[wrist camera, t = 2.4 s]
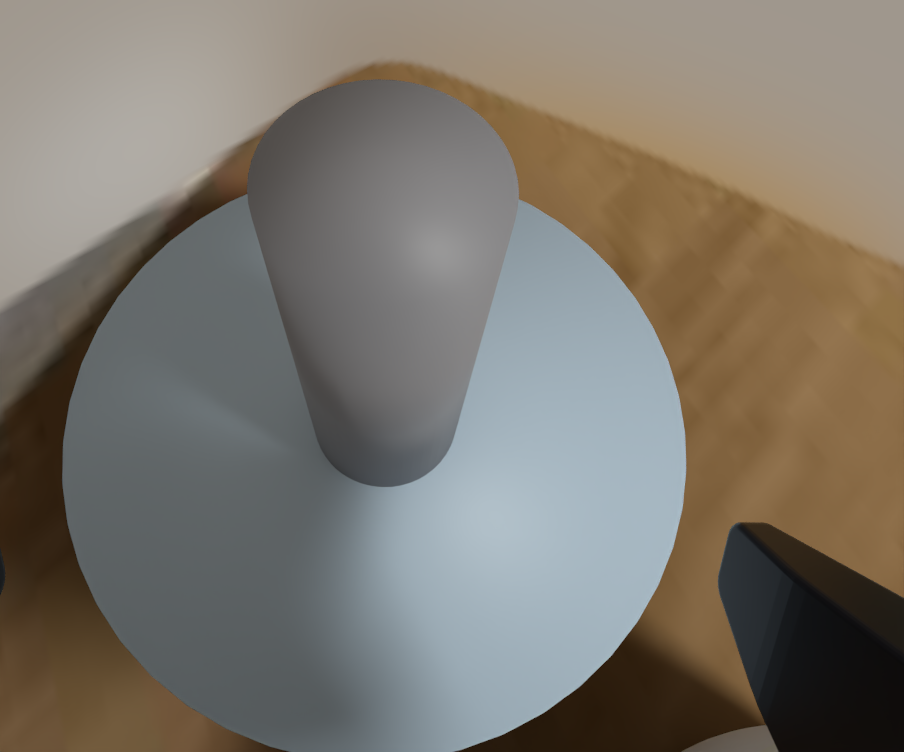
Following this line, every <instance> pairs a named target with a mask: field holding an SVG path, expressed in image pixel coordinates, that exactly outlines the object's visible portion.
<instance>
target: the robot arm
mask: <svg viewBox="0 0 904 752" xmlns="http://www.w3.org/2000/svg"><path fill="white" fill-rule="evenodd" d="M4 582H5V567H4V563H3V559H2V554H1V550H0V595H1V592H2V590H3V586H4ZM718 588H719V594H720V597H721V600H722V603H723V606H724V609H725V612H726V615H727V618H728V621H729V624H730V627H731V630H732V633H733V636H734V639H735V642H736V645H737V648H738V651H739V654H740V657H741V660H742V663H743V666H744V668H745V671H746V674H747V677H748V680H749V683H750V686H751V689H752V692H753V694H754V697H755V700H756V702H757V705H758V707H759V710H760V712H761V714H762V717H763V719H764V721H765V723H766V726H767V728H768V730H769V732H770V734H771V736H772V739H773V741H774V743H775V745H776V747H777V750H778V752H904V598H903V597H901V596H899V595H898V594H896V593H894V592H892V591H890V590H888V589H887V588H885V587H883V586H881V585H879V584H878V583H876V582H874V581H872V580H870V579H868V578H867V577H865V576H863V575H861V574H859V573H857V572H856V571H854V570H852V569H850V568H848V567H846V566H845V565H843V564H841V563H839V562H837V561H836V560H834V559H832V558H830V557H828V556H826V555H825V554H823V553H821V552H819V551H817V550H815V549H814V548H812V547H810V546H808V545H806V544H804V543H803V542H801V541H799V540H797V539H795V538H794V537H792V536H790V535H788V534H786V533H784V532H783V531H781V530H779V529H777V528H775V527H773V526H772V525H770V524H767V523H743V522H741V523H736V524H735V525H733V526H732V528H731V529H730V531H729V534H728V538H727V542H726V546H725V550H724V554H723V558H722V562H721V566H720V570H719V575H718Z"/></svg>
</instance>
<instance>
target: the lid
mask: <svg viewBox="0 0 904 752" xmlns="http://www.w3.org/2000/svg"><path fill="white" fill-rule="evenodd" d="M685 478H686V449H685V430H684V424H683V418H682V412H681V406H680V400H679V395H678V392H677V388H676V385H675V382H674V378H673V375H672V372H671V369H670V365H669V362H668V359H667V357H666V355H665V353H664V350H663V348H662V346H661V344H660V342H659V339H658V337H657V335H656V333H655V330H654V328H653V327H652V325H651V323H650V322H649V320H648V318H647V317H646V315H645V313H644V312H643V310H642V308H641V307H640V305H639V303H638V302H637V300H636V299H635V297H634V296H633V295H632V293H631V292H630V291H629V289H628V288H627V287H626V286H625V284H624V283H623V282H622V281H621V279H620V278H619V277H618V275H617V274H616V273H615V272H614V270H613V269H612V268H611V267H610V266H609V265H608V264H607V263H606V262H605V261H604V260H603V259H602V258H601V257H600V256H599V255H598V254H597V253H596V252H595V251H594V250H593V249H592V248H591V247H590V246H589V245H587V244H586V243H585V242H584V241H582V240H581V239H580V238H579V237H577V236H576V235H575V234H574V233H572V232H571V231H570V230H569V229H567V228H566V227H565V226H564V225H562V224H561V223H559V222H558V221H556V220H554V219H553V218H551V217H550V216H548V215H546V214H545V213H543V212H542V211H540V210H538V209H537V208H535V207H534V206H532V205H530V204H528V203H526V202H524V201H522V200H519V189H518V179H517V175H516V171H515V167H514V164H513V161H512V159H511V156H510V154H509V152H508V150H507V148H506V146H505V145H504V143H503V141H502V140H501V138H500V137H499V136H498V134H497V133H496V132H495V130H494V129H493V128H492V127H491V126H490V125H489V124H488V123H487V122H486V121H485V120H484V119H483V118H482V117H481V116H480V115H479V114H478V113H476V112H475V111H474V110H472V109H471V108H470V107H469V106H467V105H465V104H464V103H462V102H460V101H459V100H457V99H456V98H454V97H451V96H449V95H447V94H445V93H443V92H441V91H438V90H435V89H432V88H429V87H427V86H423V85H419V84H415V83H410V82H404V81H396V80H363V81H355V82H349V83H344V84H340V85H337V86H333V87H330V88H327V89H324V90H322V91H319V92H317V93H314V94H312V95H310V96H309V97H307V98H305V99H303V100H301V101H299V102H298V103H296V104H295V105H294V106H292V107H291V108H290V109H288V110H287V111H286V112H284V113H283V114H282V115H281V116H280V117H279V118H278V119H277V120H276V121H275V122H274V123H273V124H272V126H271V127H270V128H269V129H268V130H267V132H266V133H265V134H264V136H263V138H262V139H261V141H260V143H259V144H258V146H257V148H256V151H255V153H254V156H253V158H252V161H251V165H250V169H249V173H248V183H247V194H246V195H244V196H242V197H239V198H237V199H235V200H233V201H230V202H228V203H227V204H225V205H223V206H222V207H220V208H218V209H216V210H215V211H213V212H211V213H210V214H208V215H206V216H204V217H203V218H201V219H199V220H198V221H196V222H195V223H194V224H192V225H191V226H190V227H188V228H187V229H186V230H184V231H183V232H182V233H180V234H179V235H178V236H176V237H175V238H174V239H172V240H171V241H170V242H168V243H167V244H166V245H165V246H164V247H163V248H162V249H161V250H160V251H159V252H158V253H157V254H156V255H155V256H154V257H153V258H152V259H151V260H150V261H148V262H147V263H146V264H145V265H144V266H143V267H142V268H141V270H140V271H139V272H138V273H137V274H136V276H135V277H134V278H133V279H132V280H131V282H130V283H129V284H128V285H127V287H126V288H125V289H124V290H123V291H122V293H121V294H120V295H119V296H118V298H117V299H116V301H115V302H114V304H113V306H112V307H111V309H110V310H109V312H108V313H107V315H106V317H105V318H104V320H103V321H102V323H101V325H100V326H99V328H98V329H97V332H96V334H95V336H94V338H93V340H92V342H91V344H90V347H89V349H88V351H87V353H86V355H85V357H84V360H83V362H82V364H81V367H80V370H79V373H78V377H77V380H76V383H75V386H74V390H73V393H72V396H71V399H70V403H69V409H68V415H67V421H66V427H65V433H64V439H63V472H62V484H63V492H64V500H65V508H66V516H67V524H68V528H69V531H70V535H71V538H72V542H73V545H74V549H75V553H76V556H77V560H78V563H79V566H80V568H81V571H82V573H83V575H84V577H85V579H86V582H87V584H88V586H89V588H90V591H91V593H92V595H93V597H94V599H95V602H96V604H97V606H98V607H99V609H100V610H101V612H102V613H103V615H104V616H105V618H106V620H107V621H108V623H109V624H110V626H111V627H112V629H113V630H114V632H115V633H116V635H117V637H118V638H119V640H120V641H121V642H122V644H123V645H124V646H125V647H126V648H127V649H128V650H129V651H130V653H131V654H132V655H133V656H134V657H135V658H136V659H137V660H138V662H139V663H140V664H141V665H142V666H143V667H144V668H145V669H146V671H147V672H148V673H149V674H150V675H151V676H152V677H153V678H155V679H156V680H157V681H158V682H159V683H161V684H162V685H163V686H164V687H165V688H167V689H168V690H169V691H170V692H171V693H173V694H174V695H175V696H176V697H178V698H179V699H180V700H181V701H182V702H184V703H185V704H186V705H187V706H189V707H191V708H192V709H194V710H196V711H197V712H199V713H201V714H202V715H204V716H206V717H207V718H209V719H211V720H212V721H214V722H216V723H217V724H219V725H221V726H223V727H224V728H226V729H228V730H230V731H233V732H235V733H238V734H240V735H243V736H245V737H247V738H250V739H252V740H255V741H257V742H260V743H262V744H264V745H267V746H269V747H273V748H277V749H281V750H285V751H289V752H454V751H459V750H462V749H465V748H468V747H470V746H473V745H476V744H479V743H481V742H484V741H487V740H490V739H493V738H495V737H498V736H501V735H503V734H505V733H507V732H509V731H511V730H513V729H515V728H517V727H518V726H520V725H522V724H524V723H526V722H528V721H530V720H532V719H533V718H535V717H537V716H539V715H541V714H543V713H544V712H546V711H547V710H549V709H550V708H551V707H553V706H554V705H555V704H557V703H558V702H559V701H561V700H562V699H564V698H565V697H566V696H568V695H569V694H570V693H572V692H573V691H574V690H576V689H577V688H579V687H580V686H581V685H582V684H583V683H584V682H585V681H586V680H587V679H588V678H589V677H590V676H591V675H592V674H593V673H594V672H595V671H596V670H597V669H598V668H599V667H600V666H601V665H602V664H603V663H604V662H606V661H607V660H608V659H609V658H610V657H611V656H612V654H613V653H614V652H615V650H616V649H617V648H618V647H619V645H620V644H621V643H622V641H623V640H624V639H625V637H626V636H627V635H628V634H629V632H630V631H631V630H632V628H633V627H634V626H635V624H636V623H637V622H638V620H639V618H640V617H641V615H642V613H643V611H644V609H645V608H646V606H647V604H648V602H649V601H650V599H651V597H652V595H653V594H654V592H655V590H656V588H657V586H658V584H659V582H660V579H661V577H662V574H663V572H664V569H665V567H666V564H667V562H668V559H669V556H670V554H671V551H672V549H673V546H674V542H675V537H676V533H677V529H678V525H679V521H680V517H681V512H682V508H683V498H684V488H685Z"/></svg>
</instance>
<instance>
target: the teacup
mask: <svg viewBox="0 0 904 752" xmlns="http://www.w3.org/2000/svg"><path fill="white" fill-rule="evenodd" d="M682 752H778V750H777V747H776V745H775V743H774V741H773V739H772V736H771V734H770V732H769V730H768V728H767V726H766V725H762V726H756V727H749V728H744V729H739V730H735V731H731V732H728V733H724V734H721V735H718V736H715V737H712V738H709V739H706V740H704V741H702V742H700V743H697V744H695V745H693V746H691V747H689V748H687V749H685V750H684V751H682Z"/></svg>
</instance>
